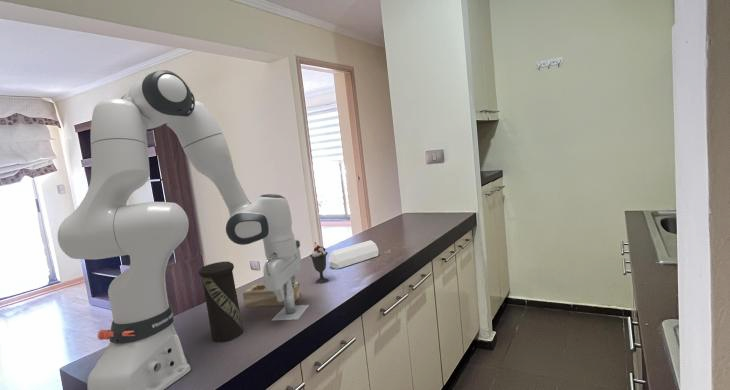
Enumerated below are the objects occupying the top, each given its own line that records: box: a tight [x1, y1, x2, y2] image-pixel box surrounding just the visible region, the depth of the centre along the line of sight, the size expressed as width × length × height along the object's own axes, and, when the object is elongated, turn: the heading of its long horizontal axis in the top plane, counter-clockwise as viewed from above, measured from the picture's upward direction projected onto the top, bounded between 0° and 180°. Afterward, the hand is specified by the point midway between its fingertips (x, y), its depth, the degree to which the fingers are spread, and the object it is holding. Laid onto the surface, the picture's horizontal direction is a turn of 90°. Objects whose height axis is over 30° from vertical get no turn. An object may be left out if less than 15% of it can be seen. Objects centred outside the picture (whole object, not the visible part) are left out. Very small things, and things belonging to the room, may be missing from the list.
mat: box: [271, 304, 310, 321], centre depth 115 cm, size 10×8×1 cm
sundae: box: [309, 242, 330, 284], centre depth 141 cm, size 7×7×15 cm
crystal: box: [327, 239, 379, 270], centre depth 162 cm, size 7×7×24 cm
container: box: [198, 261, 244, 343], centre depth 103 cm, size 9×9×20 cm
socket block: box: [242, 280, 302, 308], centre depth 126 cm, size 8×16×5 cm, turn 79°
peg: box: [282, 278, 296, 315], centre depth 114 cm, size 3×3×10 cm
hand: (287, 294), depth 115 cm, fingers open, 8 cm apart
